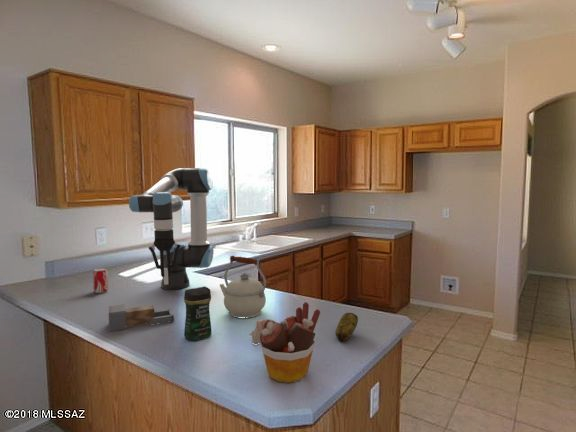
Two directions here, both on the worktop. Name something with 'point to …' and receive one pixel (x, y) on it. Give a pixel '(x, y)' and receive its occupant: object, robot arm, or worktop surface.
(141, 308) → the walnut rail
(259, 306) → the kettle
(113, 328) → the roofed end cap
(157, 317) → the open end cap
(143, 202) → the robot arm
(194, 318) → the coffee jar
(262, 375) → the worktop surface
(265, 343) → the bucket of meat
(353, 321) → the potato
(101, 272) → the soda can
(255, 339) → the architectural model
